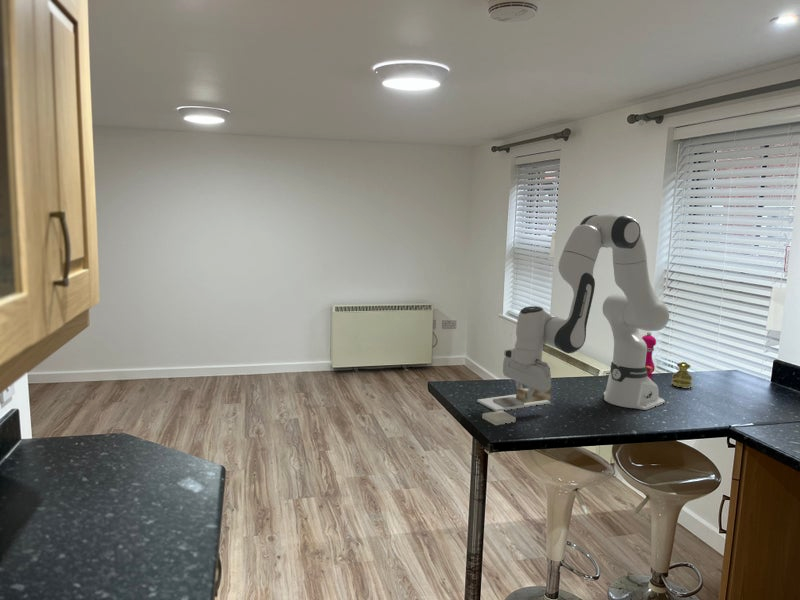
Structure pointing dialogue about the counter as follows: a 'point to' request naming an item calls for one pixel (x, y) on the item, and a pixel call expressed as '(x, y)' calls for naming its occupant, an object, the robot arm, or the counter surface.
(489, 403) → the board
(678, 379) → the gold ridged bell shape
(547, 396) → the wooden handled scraper
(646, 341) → the pepper mill
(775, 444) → the counter surface
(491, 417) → the tile
